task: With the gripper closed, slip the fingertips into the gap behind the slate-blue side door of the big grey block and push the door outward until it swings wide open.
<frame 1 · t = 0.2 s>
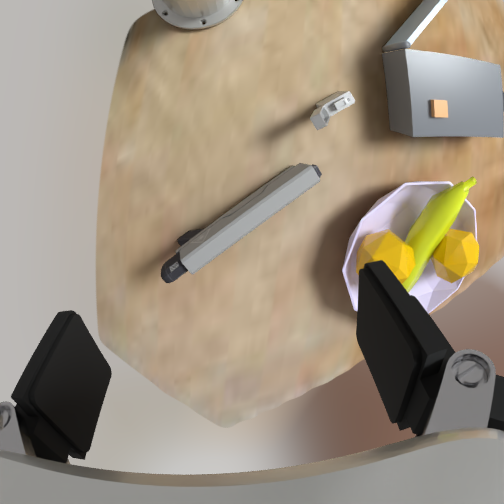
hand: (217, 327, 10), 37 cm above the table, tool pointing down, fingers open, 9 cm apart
fruit bowl: (406, 238, 51), on the table
grey block: (436, 93, 39), on the table
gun: (237, 206, 47), on the table
pale grey angled bracket: (321, 107, 40), on the table
side door: (422, 10, 29), point 4 cm above the table, hinge at 45.0°
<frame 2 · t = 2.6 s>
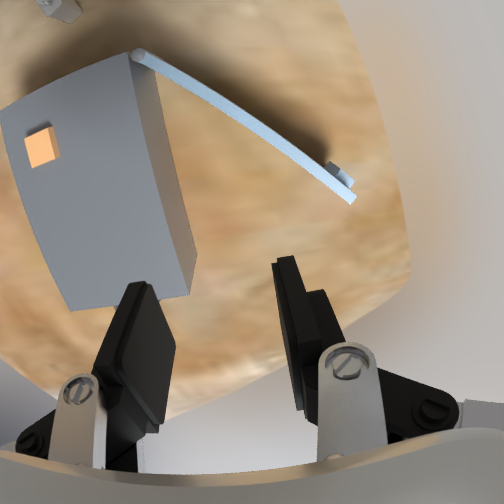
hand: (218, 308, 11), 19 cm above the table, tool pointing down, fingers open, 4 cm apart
grey block: (113, 176, 27), on the table
side door: (249, 114, 22), point 4 cm above the table, hinge at 45.0°
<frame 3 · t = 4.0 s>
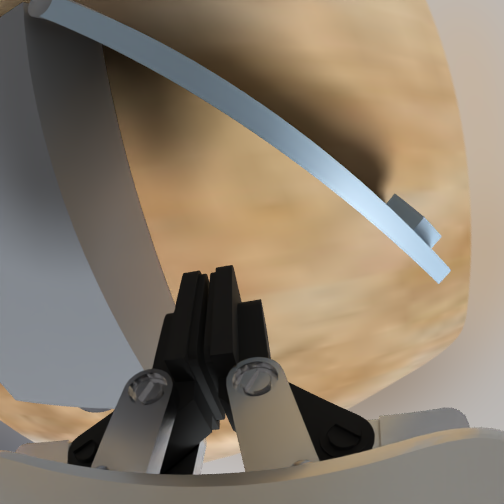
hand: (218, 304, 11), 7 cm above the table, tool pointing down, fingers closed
grey block: (51, 212, 16), on the table
side door: (266, 110, 11), point 4 cm above the table, hinge at 45.0°
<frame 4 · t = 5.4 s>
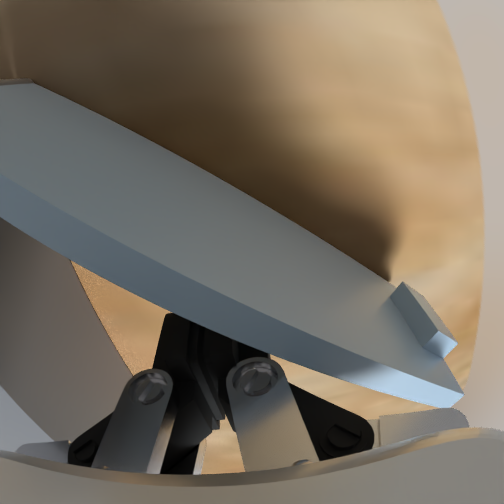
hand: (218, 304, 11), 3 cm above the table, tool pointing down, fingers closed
grey block: (3, 297, 13), on the table
side door: (212, 212, 8), point 4 cm above the table, hinge at 47.3°, touching gripper
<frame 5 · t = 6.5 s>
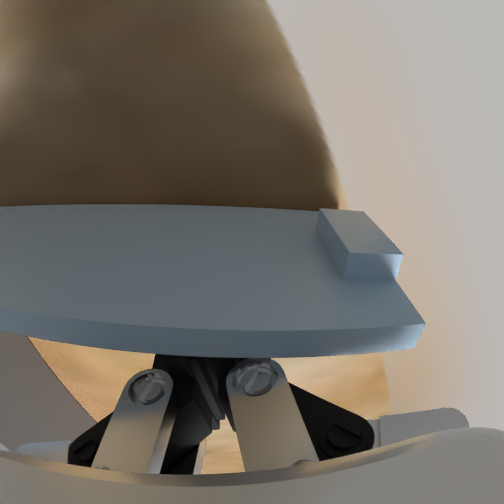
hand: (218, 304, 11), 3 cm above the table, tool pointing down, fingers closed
side door: (71, 244, 9), point 4 cm above the table, hinge at 75.5°, touching gripper
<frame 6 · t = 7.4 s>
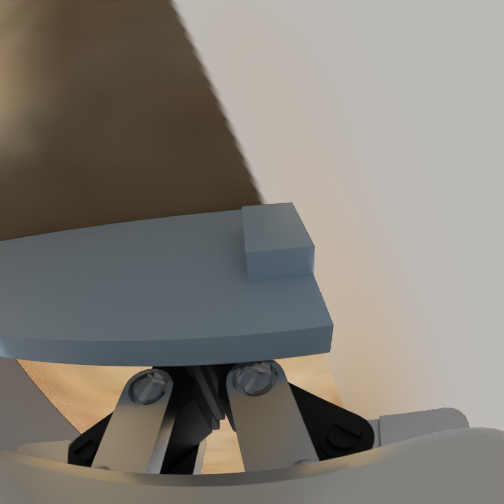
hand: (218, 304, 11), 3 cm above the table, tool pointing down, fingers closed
side door: (24, 273, 9), point 4 cm above the table, hinge at 84.4°, touching gripper
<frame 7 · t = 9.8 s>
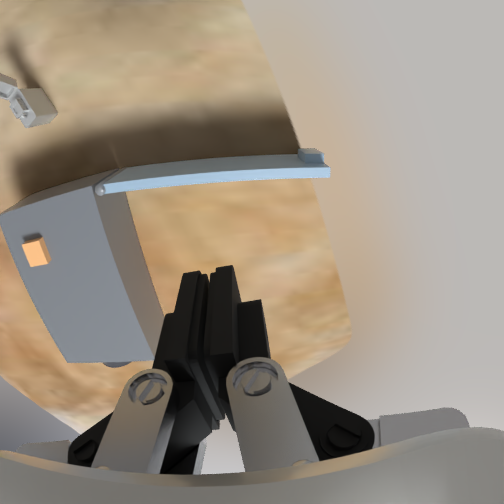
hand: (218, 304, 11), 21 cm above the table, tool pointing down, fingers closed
grey block: (96, 259, 33), on the table
pale grey angled bracket: (39, 96, 25), on the table
side door: (210, 165, 26), point 4 cm above the table, hinge at 84.5°
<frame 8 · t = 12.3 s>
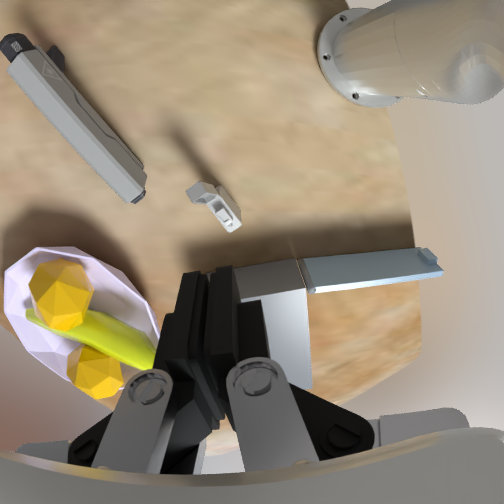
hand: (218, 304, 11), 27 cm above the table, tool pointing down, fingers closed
fruit bowl: (94, 309, 44), on the table
grey block: (260, 320, 46), on the table
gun: (91, 108, 31), on the table
pale grey angled bracket: (218, 191, 37), on the table
side door: (372, 265, 38), point 4 cm above the table, hinge at 84.5°
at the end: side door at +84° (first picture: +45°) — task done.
